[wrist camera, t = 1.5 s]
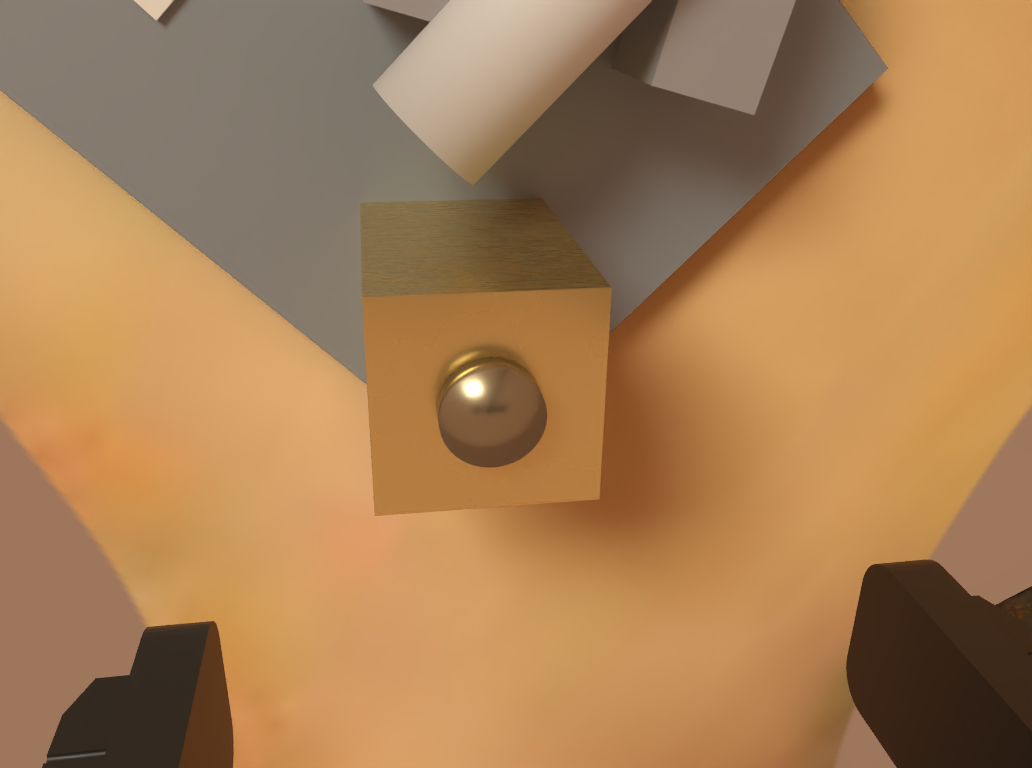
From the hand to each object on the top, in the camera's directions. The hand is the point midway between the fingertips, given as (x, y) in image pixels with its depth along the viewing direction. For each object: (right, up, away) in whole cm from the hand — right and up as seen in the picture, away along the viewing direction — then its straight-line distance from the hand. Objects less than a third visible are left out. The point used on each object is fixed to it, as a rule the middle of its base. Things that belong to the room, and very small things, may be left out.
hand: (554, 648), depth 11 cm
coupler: (-2, +6, +12) cm, 14 cm away
